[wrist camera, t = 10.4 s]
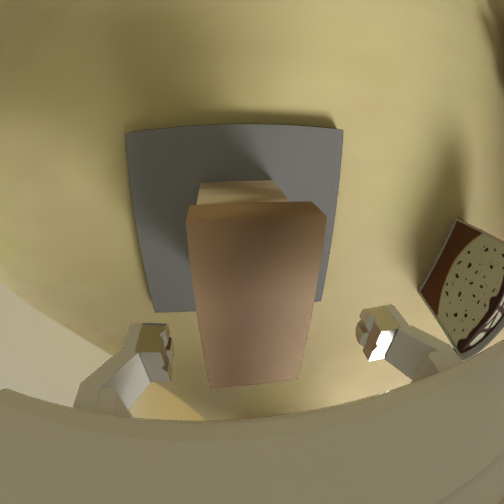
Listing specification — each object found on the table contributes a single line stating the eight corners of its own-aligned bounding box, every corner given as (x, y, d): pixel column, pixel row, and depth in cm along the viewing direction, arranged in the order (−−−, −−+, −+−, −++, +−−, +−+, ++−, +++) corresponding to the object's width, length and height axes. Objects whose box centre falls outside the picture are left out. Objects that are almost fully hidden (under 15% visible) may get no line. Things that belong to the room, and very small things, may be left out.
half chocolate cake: (438, 306, 28) (481, 359, 19) (410, 302, 26) (458, 365, 18) (483, 221, 23) (541, 263, 14) (461, 205, 21) (530, 251, 12)
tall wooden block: (273, 165, 17) (327, 216, 9) (268, 283, 21) (297, 378, 13) (199, 167, 16) (185, 221, 8) (208, 287, 20) (209, 387, 13)
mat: (317, 294, 24) (320, 301, 23) (156, 304, 22) (154, 312, 21) (337, 128, 17) (343, 129, 16) (129, 132, 15) (125, 133, 14)
